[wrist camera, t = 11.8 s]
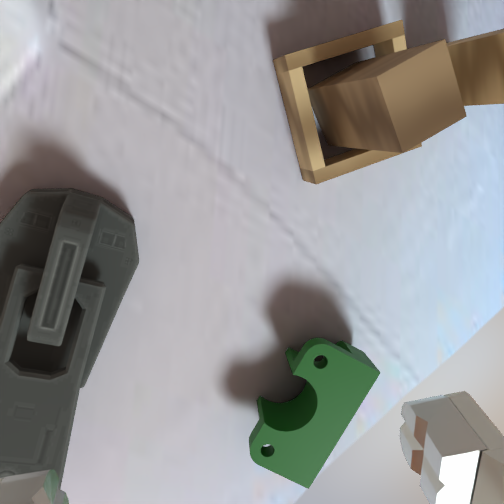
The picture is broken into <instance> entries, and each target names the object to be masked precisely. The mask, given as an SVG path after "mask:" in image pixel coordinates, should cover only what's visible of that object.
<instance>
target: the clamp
mask: <svg viewBox="0 0 504 504" xmlns="http://www.w3.org/2000/svg"><path fill="white" fill-rule="evenodd" d="M285 354H286V357H287V359H288V362H289V365H290V368H291V371H292V374H293V375H297V376H300V377H302V378H304V379H306V380H307V381H306V385H305V387H304V389H303V391H302V392H301V393H300V394H299V395H298V396H297V397H296V398H295V399H293V400H291V401H288V402H284V403H274V402H270V401H268V400H266V399H264V398H263V397H261V396H259V398H258V400H257V405H258V412H259V421H258V423H257V424H256V426H255V428H254V429H253V431H252V433H251V435H250V437H249V447H250V455H251V458H252V460H253V461H254V462H255V463H256V464H258V465H260V466H262V467H264V468H266V469H268V470H270V471H272V472H274V473H277V474H279V475H281V476H283V477H285V478H287V479H289V480H291V481H293V482H295V483H298V484H300V485H302V486H304V487H306V488H309V487H310V486H311V484H312V483H313V481H314V479H315V478H316V476H317V474H318V473H319V471H320V470H321V468H322V466H323V465H324V463H325V461H326V460H327V458H328V457H329V455H330V453H331V452H332V450H333V449H334V447H335V445H336V444H337V442H338V440H339V439H340V437H341V436H342V434H343V432H344V431H345V429H346V428H347V426H348V424H349V423H350V421H351V419H352V418H353V416H354V415H355V413H356V411H357V410H358V408H359V407H360V405H361V403H362V402H363V400H364V398H365V397H366V395H367V394H368V392H369V390H370V389H371V387H372V386H373V384H374V382H375V381H376V379H377V377H378V376H379V374H380V371H379V370H378V369H377V368H376V367H375V365H374V364H373V363H372V362H371V360H370V359H369V358H368V357H367V356H366V354H365V353H364V352H363V351H361V350H359V349H357V348H355V347H353V346H351V345H350V344H348V343H346V342H344V341H339V342H337V343H336V344H333V343H331V342H329V341H328V340H326V339H323V338H313V339H311V340H309V341H307V342H306V343H305V344H304V345H303V347H302V348H301V350H300V352H297V351H295V350H293V349H291V348H289V347H288V349H287V350H286V352H285ZM319 355H323V356H324V357H323V359H322V360H321V361H319V362H316V361H314V359H315V358H316V357H317V356H319ZM266 444H270V446H268V447H264V446H263V445H266Z"/></svg>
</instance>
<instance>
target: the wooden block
mask: <svg viewBox="0 0 504 504" xmlns="http://www.w3.org/2000/svg"><path fill="white" fill-rule="evenodd" d="M307 90H308V94H309V98H310V103H311V106H312V108H313V111H314V113H315V116H316V118H317V121H318V123H319V125H320V128H321V130H322V133H323V135H324V138H325V140H326V143H327V145H328V146H338V147H348V148H357V149H367V150H377V151H387V152H397V153H404V152H406V151H407V150H409V149H411V148H413V147H414V146H416V145H418V144H420V143H421V142H423V141H425V140H426V139H428V138H430V137H432V136H433V135H435V134H437V133H439V132H440V131H442V130H444V129H445V128H447V127H449V126H451V125H452V124H454V123H456V122H457V121H459V120H461V119H463V118H464V117H466V112H465V109H464V105H463V101H462V98H461V94H460V91H459V87H458V83H457V80H456V76H455V73H454V69H453V65H452V62H451V58H450V55H449V51H448V47H447V44H446V40H445V39H443V40H439V41H436V42H432V43H428V44H424V45H420V46H417V47H413V48H409V49H405V50H402V51H398V52H394V53H390V54H386V55H383V56H379V57H375V58H371V59H368V60H364V61H360V62H356V63H354V64H352V65H350V66H349V67H347V68H345V69H343V70H341V71H339V72H338V73H336V74H334V75H332V76H330V77H328V78H327V79H325V80H323V81H321V82H319V83H317V84H316V85H314V86H312V87H310V88H308V89H307Z"/></svg>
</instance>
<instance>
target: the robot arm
mask: <svg viewBox="0 0 504 504" xmlns="http://www.w3.org/2000/svg"><path fill="white" fill-rule="evenodd" d="M401 415H402V417H403V418H404V420H405V423H404V424H403V425H402V426H401V428H400V442H401V446H402V451H403V453H404V456H405V459H406V461H407V463H408V465H409V466H410V468H411V469H412V470H413V471H415V472H416V473H418V474H419V475H421V479H420V487H421V489H422V491H423V493H424V495H425V496H426V498H427V500H428V502H429V504H504V436H503V435H502V434H501V432H500V431H499V430H498V429H497V427H496V426H495V425H494V424H493V422H492V421H491V420H490V419H489V418H488V416H487V415H486V414H485V413H484V411H483V410H482V409H481V408H480V407H479V405H478V404H477V403H476V402H475V400H474V399H473V398H472V397H471V396H470V394H468V393H467V392H465V391H463V392H457V393H452V394H447V395H443V396H442V395H440V396H436V397H430V398H425V399H420V400H415V401H410V402H405V403H404V404H403V406H402V411H401ZM58 483H59V477H58V475H57V473H56V471H55V469H54V470H45V471H39V472H32V473H26V474H20V475H14V476H7V477H3V478H0V504H69V501H68V498H67V495H66V493H65V492H64V491H62V490H60V489H58V488H57V487H58Z"/></svg>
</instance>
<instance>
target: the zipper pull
mask: <svg viewBox="0 0 504 504" xmlns="http://www.w3.org/2000/svg"><path fill="white" fill-rule="evenodd" d="M138 263H139V255H138V247H137V239H136V232H135V224H134V219H133V218H132V217H131V216H130V215H128V214H127V213H125V212H124V211H122V210H121V209H119V208H118V207H116V206H115V205H113V204H112V203H110V202H109V201H107V200H106V199H104V198H103V197H99V196H96V195H92V194H89V193H85V192H82V191H79V190H75V189H72V188H69V189H32V190H30V191H29V192H27V193H26V194H24V195H23V196H22V197H21V199H20V200H19V201H18V202H17V203H16V205H15V206H14V207H13V208H12V209H11V211H10V212H9V213H8V214H7V215H6V217H5V218H4V219H3V220H2V221H1V223H0V478H3V477H7V476H14V475H20V474H26V473H32V472H39V471H45V470H54V469H55V471H56V473H57V475H58V477H59V483H58V487H57V488H58V489H60V487H61V482H62V477H63V472H64V467H65V462H66V456H67V451H68V446H69V441H70V436H71V431H72V426H73V420H74V415H75V410H76V405H77V400H78V395H79V390H80V388H82V387H84V385H85V384H86V381H87V379H88V377H89V375H90V372H91V370H92V368H93V365H94V363H95V361H96V358H97V356H98V354H99V352H100V349H101V347H102V345H103V342H104V340H105V338H106V335H107V333H108V331H109V329H110V326H111V324H112V322H113V319H114V317H115V315H116V312H117V310H118V308H119V305H120V303H121V301H122V299H123V296H124V294H125V292H126V290H127V288H128V285H129V283H130V281H131V279H132V277H133V274H134V272H135V270H136V268H137V266H138Z"/></svg>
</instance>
